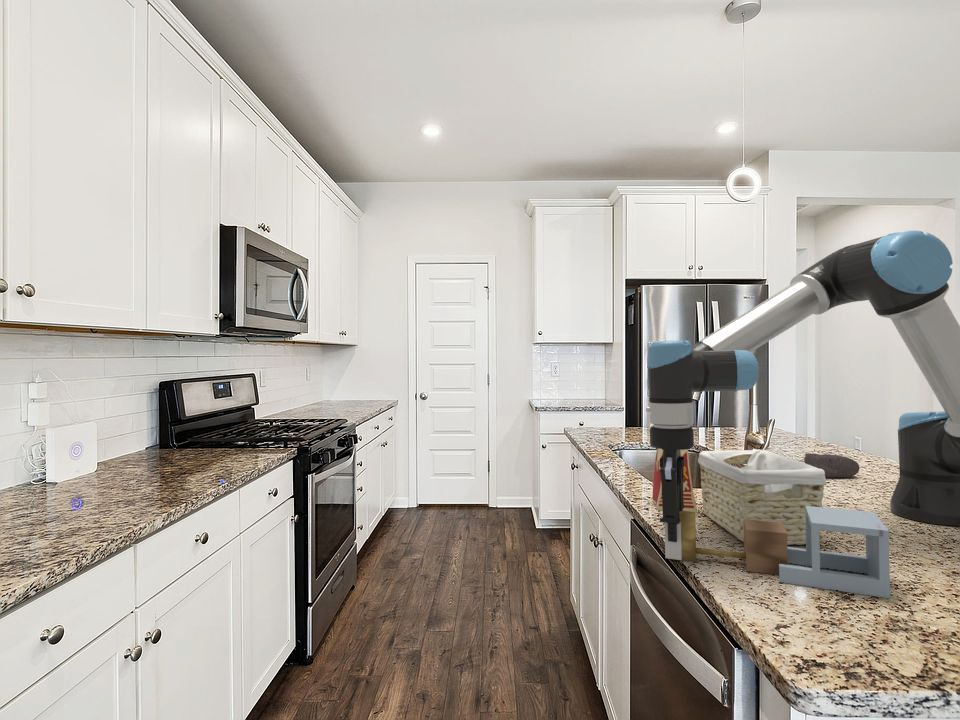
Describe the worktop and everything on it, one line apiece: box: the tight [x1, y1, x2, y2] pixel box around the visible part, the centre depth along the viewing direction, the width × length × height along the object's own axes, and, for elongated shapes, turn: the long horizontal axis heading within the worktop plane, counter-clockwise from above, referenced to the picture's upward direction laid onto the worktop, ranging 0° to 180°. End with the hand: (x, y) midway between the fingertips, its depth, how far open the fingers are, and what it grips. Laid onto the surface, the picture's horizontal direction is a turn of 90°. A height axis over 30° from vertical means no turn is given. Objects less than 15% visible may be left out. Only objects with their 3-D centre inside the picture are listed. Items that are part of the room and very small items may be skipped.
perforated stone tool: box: [803, 452, 860, 479], centre depth 155 cm, size 15×5×7 cm, turn 78°
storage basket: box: [697, 449, 827, 546], centre depth 111 cm, size 24×16×15 cm
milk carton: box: [651, 448, 698, 513], centre depth 129 cm, size 9×9×20 cm
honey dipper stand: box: [679, 511, 789, 576], centre depth 93 cm, size 17×6×8 cm, turn 68°
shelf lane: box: [778, 506, 891, 599], centre depth 86 cm, size 14×10×10 cm
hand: (674, 554), depth 96 cm, fingers closed on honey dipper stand, 3 cm apart
